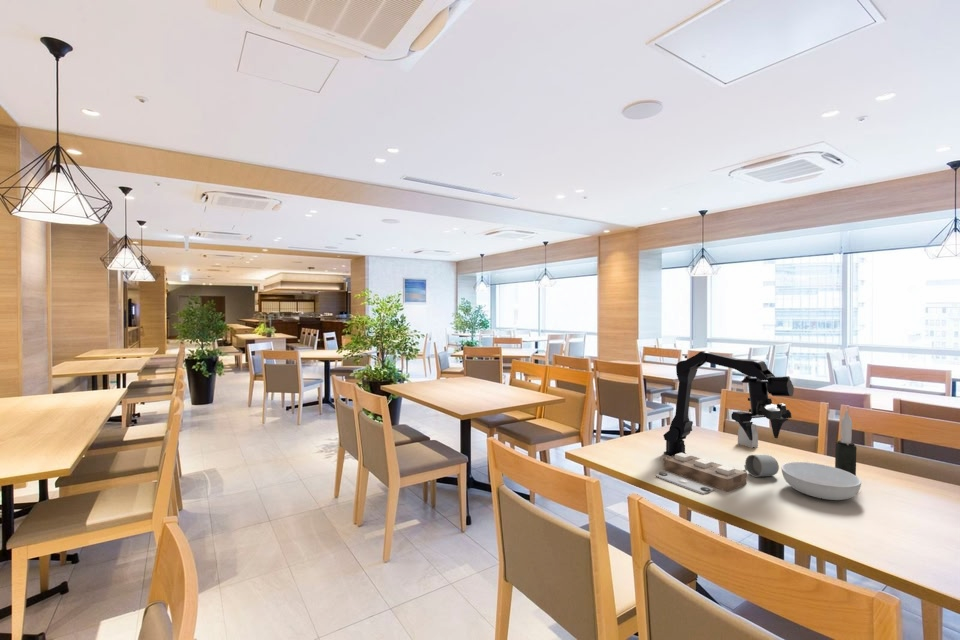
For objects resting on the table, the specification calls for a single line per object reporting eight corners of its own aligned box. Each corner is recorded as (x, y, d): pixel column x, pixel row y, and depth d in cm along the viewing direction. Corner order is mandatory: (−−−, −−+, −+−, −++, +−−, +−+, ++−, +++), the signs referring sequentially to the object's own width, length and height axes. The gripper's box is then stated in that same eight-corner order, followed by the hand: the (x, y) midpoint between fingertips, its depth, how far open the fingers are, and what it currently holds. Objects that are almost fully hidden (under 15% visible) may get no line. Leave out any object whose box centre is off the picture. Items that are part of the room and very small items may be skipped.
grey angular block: (752, 448, 193) (752, 425, 193) (737, 443, 199) (738, 421, 199) (757, 446, 194) (758, 424, 194) (743, 442, 201) (743, 420, 200)
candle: (851, 478, 159) (853, 409, 158) (856, 483, 154) (858, 412, 153) (833, 476, 161) (835, 407, 160) (838, 481, 156) (840, 410, 155)
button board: (663, 469, 168) (663, 458, 168) (682, 463, 174) (682, 453, 174) (727, 491, 148) (727, 479, 148) (746, 483, 154) (746, 472, 154)
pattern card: (654, 476, 161) (654, 474, 161) (664, 472, 164) (664, 470, 164) (704, 495, 145) (704, 492, 145) (715, 490, 148) (715, 488, 148)
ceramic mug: (780, 478, 159) (780, 456, 159) (761, 480, 157) (761, 458, 157) (756, 468, 169) (756, 448, 169) (738, 470, 168) (738, 449, 167)
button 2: (716, 475, 155) (716, 467, 155) (722, 473, 157) (723, 465, 157) (728, 479, 151) (728, 470, 151) (734, 477, 154) (734, 468, 153)
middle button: (694, 468, 162) (694, 460, 161) (701, 466, 164) (701, 458, 164) (705, 472, 158) (705, 463, 158) (711, 470, 160) (711, 461, 160)
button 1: (674, 462, 168) (675, 454, 168) (681, 460, 170) (681, 452, 170) (684, 465, 165) (684, 457, 165) (691, 463, 167) (691, 455, 167)
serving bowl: (766, 487, 152) (767, 467, 151) (805, 477, 160) (805, 458, 160) (835, 513, 133) (836, 490, 132) (875, 500, 141) (876, 479, 141)
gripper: (747, 400, 151) (752, 446, 150) (800, 395, 152) (806, 441, 151) (728, 396, 162) (732, 439, 162) (777, 392, 163) (782, 435, 162)
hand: (763, 439), depth 159 cm, fingers open, 9 cm apart
